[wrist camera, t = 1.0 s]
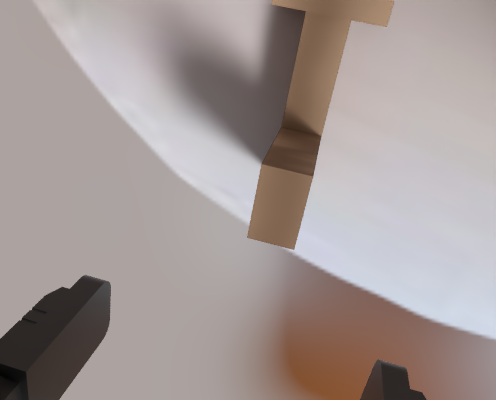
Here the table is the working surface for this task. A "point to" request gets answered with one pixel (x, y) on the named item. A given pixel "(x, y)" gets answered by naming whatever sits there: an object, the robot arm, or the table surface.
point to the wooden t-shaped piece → (305, 114)
